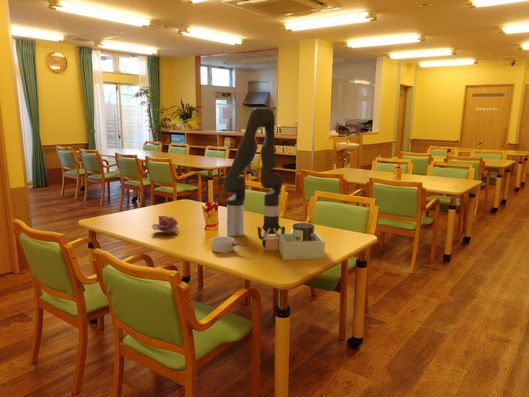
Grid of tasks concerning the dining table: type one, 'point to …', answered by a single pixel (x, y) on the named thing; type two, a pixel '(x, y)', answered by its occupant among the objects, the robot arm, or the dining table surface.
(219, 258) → the dining table surface
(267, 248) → the pink block
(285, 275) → the dining table surface
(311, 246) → the tote
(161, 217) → the flower
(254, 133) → the robot arm
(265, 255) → the dining table surface
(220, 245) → the saucepan
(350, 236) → the dining table surface
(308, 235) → the coffee can
